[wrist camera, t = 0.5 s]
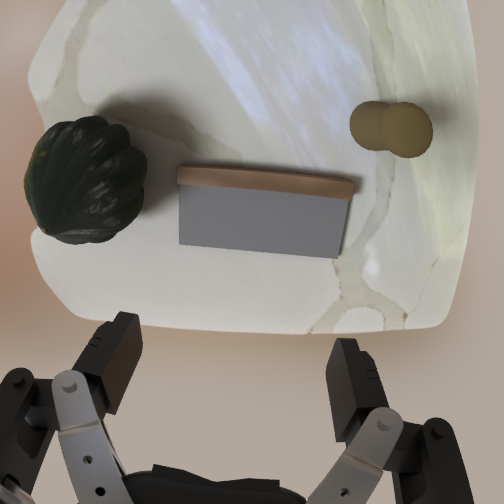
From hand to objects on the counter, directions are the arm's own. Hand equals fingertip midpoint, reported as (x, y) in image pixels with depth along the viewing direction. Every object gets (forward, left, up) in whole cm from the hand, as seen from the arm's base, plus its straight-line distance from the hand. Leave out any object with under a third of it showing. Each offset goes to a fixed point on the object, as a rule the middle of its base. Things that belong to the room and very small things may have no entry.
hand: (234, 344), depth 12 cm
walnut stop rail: (-2, +1, -26) cm, 27 cm away
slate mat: (+3, +1, -26) cm, 27 cm away
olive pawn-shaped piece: (-10, +13, -27) cm, 31 cm away
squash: (-2, -19, -27) cm, 33 cm away
